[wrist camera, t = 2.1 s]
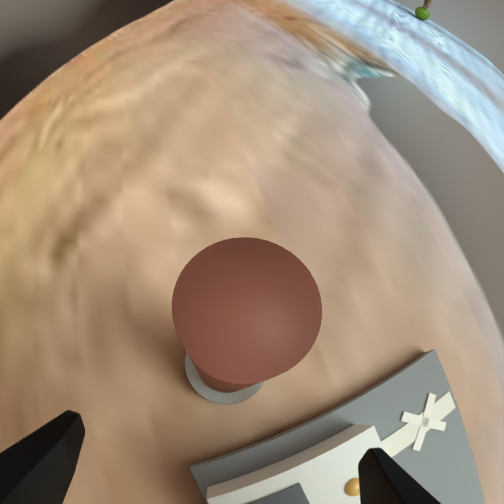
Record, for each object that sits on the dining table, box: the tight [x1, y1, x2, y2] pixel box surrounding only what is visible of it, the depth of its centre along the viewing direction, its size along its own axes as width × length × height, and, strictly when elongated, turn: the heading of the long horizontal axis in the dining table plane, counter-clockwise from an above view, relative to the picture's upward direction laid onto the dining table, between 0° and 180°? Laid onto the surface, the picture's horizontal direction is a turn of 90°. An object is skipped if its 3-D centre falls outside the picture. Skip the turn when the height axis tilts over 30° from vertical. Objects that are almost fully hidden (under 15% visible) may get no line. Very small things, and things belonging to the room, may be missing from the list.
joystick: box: [172, 238, 322, 404], centre depth 13 cm, size 5×5×14 cm
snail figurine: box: [415, 0, 433, 20], centre depth 68 cm, size 5×6×12 cm
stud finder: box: [207, 424, 384, 504], centre depth 13 cm, size 10×6×3 cm, turn 112°
